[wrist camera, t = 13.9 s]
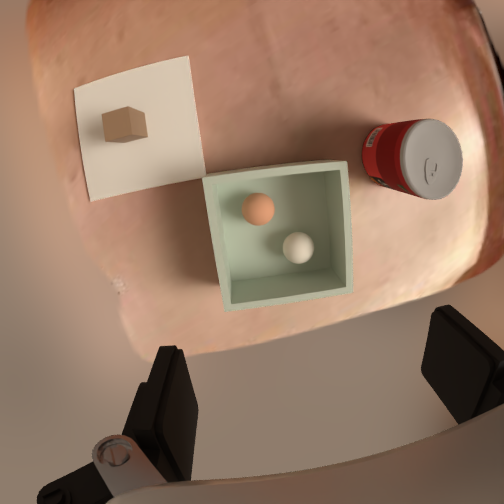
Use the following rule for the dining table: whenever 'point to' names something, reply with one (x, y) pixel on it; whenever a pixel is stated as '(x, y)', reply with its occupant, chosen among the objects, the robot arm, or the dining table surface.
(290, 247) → the ball cream
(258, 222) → the ball terracotta
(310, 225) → the box
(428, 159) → the canned food
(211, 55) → the dining table surface
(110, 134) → the lid
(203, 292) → the dining table surface
